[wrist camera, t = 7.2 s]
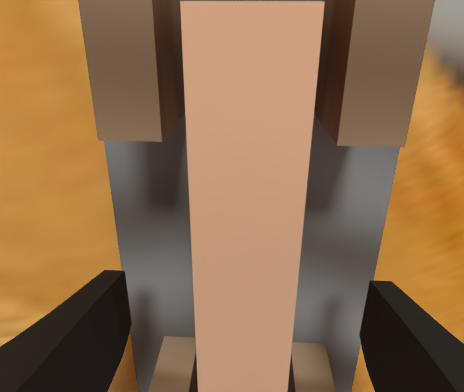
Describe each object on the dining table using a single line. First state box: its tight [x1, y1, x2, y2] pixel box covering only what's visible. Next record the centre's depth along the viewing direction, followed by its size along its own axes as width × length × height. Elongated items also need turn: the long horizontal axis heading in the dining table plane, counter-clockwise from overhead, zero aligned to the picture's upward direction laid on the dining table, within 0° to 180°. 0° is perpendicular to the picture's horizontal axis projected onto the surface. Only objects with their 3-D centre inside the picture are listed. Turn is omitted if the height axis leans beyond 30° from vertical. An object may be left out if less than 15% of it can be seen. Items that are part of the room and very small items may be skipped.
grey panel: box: [78, 0, 435, 392], centre depth 13 cm, size 20×10×5 cm, turn 0°
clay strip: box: [180, 1, 325, 392], centre depth 12 cm, size 16×2×5 cm, turn 0°
